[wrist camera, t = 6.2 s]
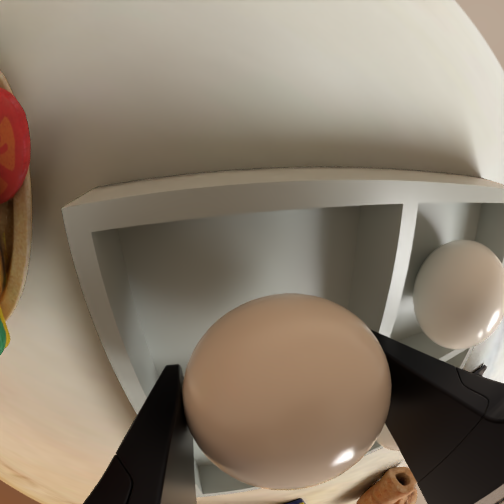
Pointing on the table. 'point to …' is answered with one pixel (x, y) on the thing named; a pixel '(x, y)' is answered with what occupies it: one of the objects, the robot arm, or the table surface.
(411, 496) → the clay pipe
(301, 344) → the brown egg
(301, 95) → the table surface
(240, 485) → the crate
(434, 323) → the egg
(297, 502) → the supplement box
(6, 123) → the toy food set
